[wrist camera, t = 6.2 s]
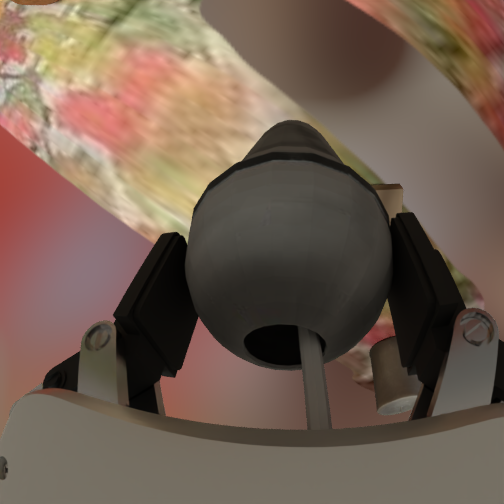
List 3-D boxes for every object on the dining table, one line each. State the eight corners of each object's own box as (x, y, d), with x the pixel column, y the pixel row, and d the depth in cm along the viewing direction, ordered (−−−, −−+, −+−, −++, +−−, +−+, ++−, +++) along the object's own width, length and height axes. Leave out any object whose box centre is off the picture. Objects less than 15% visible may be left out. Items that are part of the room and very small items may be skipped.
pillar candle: (361, 357, 54) (367, 421, 43) (385, 332, 48) (398, 403, 37) (395, 361, 55) (405, 420, 43) (421, 337, 49) (436, 401, 37)
